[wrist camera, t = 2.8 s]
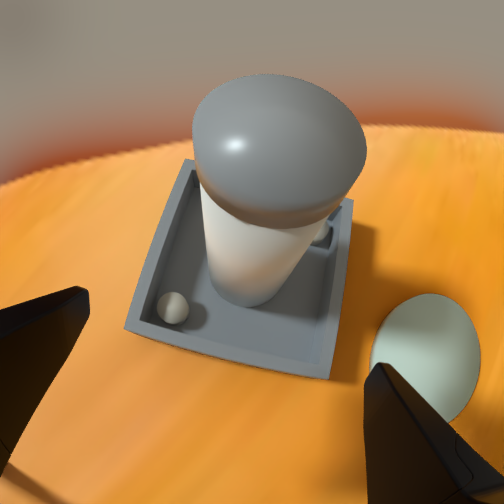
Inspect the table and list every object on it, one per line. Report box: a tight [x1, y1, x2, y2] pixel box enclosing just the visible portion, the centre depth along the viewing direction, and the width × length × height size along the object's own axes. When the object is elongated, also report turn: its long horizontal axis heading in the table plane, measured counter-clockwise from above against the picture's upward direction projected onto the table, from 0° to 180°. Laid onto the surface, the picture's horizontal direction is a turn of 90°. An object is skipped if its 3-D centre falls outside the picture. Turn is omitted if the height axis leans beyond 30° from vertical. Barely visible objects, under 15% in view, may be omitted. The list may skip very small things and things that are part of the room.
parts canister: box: [192, 74, 367, 307], centre depth 15 cm, size 5×5×14 cm
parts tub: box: [124, 159, 354, 380], centre depth 21 cm, size 13×13×3 cm
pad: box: [369, 294, 480, 423], centre depth 21 cm, size 11×11×1 cm
